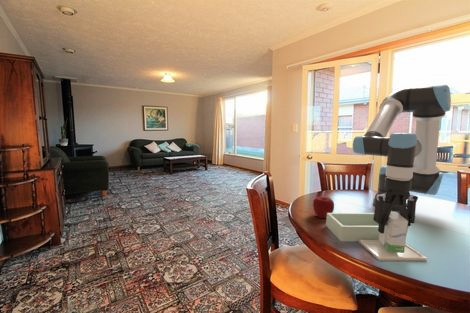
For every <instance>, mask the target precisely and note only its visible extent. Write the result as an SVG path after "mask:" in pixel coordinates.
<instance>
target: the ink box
mask: <svg viewBox="0 0 470 313" xmlns="http://www.w3.org/2000/svg"><path fill="white" fill-rule="evenodd" d="M386 225H388V231H387V240H386V243H383V242H382V241H380V240H379V241H380V242H381V243H382V244H383V245H384V246H385V248H386V249H387V250H388V251H389V252H399V253H404V249H405V243H406V241H407V235H408V229H407V226H408V221H407V220H406V219H405V218H404V217H402V216H401V215H400V214H399V212H397V211H393V210H392V211H391V213H390V215H389V218H388V220H387V223H386ZM408 227H409V226H408ZM379 235H380V232H379Z"/></svg>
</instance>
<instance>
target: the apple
mask: <svg viewBox="0 0 470 313" xmlns="http://www.w3.org/2000/svg"><path fill="white" fill-rule="evenodd" d="M312 204H313V205H312V206H313V211H314V213H315V215H316V216H317V217H318V218H320V219H327V213H334V209H335V203H334V200H332V199H331V198H329V197H326V196H325V197H324V196H317V197H315V198H314V200H313V203H312Z"/></svg>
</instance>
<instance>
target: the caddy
mask: <svg viewBox="0 0 470 313" xmlns="http://www.w3.org/2000/svg"><path fill="white" fill-rule="evenodd" d="M373 218H374V212H332V213H327V218H326V222H325V226H326V227H327V228H328V229H329V230H330V232H332V234H333V235H334V236H335V237H336V238H337V239H338V240H339V241H340V242H359V240H379V231H378V227H379V223H377V222H375V221H374V220H373Z"/></svg>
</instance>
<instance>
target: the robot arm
mask: <svg viewBox="0 0 470 313" xmlns="http://www.w3.org/2000/svg"><path fill="white" fill-rule="evenodd" d="M451 96H452V95H451V91H450V87H449V86H448V85H447V84H430V85H421V86H420V85H419V86H412V87H409V86H408V87H404V88H400V89H398V90H396V91H393V92H391V93H390V94H389V95H388V96H386V97H385V98H384V99H383V100H382V102H381V103H380V105H379V106H378V108H379V111H378V113H377V114H376V115H375V117H374V118H373V120H372V122H371V123H370V125H369V127H368V128H367V130H366V132H365V133H364V135H358V136H355V137H354V138H353V140H352V151H353V152H354V153H355V154H358V155H366V156H376V157H377V156H378V157H387V158H386V165H382V166H381V167H380V168H379V173H378V184H377V191H376V193H375V196H374V197H373V200H372V204H373V205H374V206H375V207H374V212H373V213H374V218H373V220H374V221H375V222H377V223H379V227H378V231H379V232H380V235H379V240H380V241H382V242H383V243H386V240H387V231H388V225H386V223H387V220H388V218H389V215H390V213H391V211H392V212H393V211H398V214H400V215H401V216H402V217H404V218H405V219H406V220H407V221H408V226H407V230H408V229H409V227H411V226H412V224H415V222H416V207H417V202H418V199H419V197H418V196H417V195H415V194H412V193H416V194H417V193H418V194H422V195H429V196H435V195H437V194H438V192H439V189H440V186H441V183H442V180H443V176H444V173H443V172H440V171H441V170H440V168H439V167H438V166H437V157H438V146H439V136H440V127H441V126H440V125H441V124H440V123H441V119H442V118H443V117H445V116H446V113H447V112H449V111H451V105H452V104H451V103H452V101H451V100H452V97H451ZM402 113H412V118H413V119H415V133H411V132H392V133H390V135H389V136H388V134H389V132H390V130H391V128H392V126H393V124H394V122H395V120H396V119H397V117H398V116H400V115H401V114H402Z"/></svg>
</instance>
